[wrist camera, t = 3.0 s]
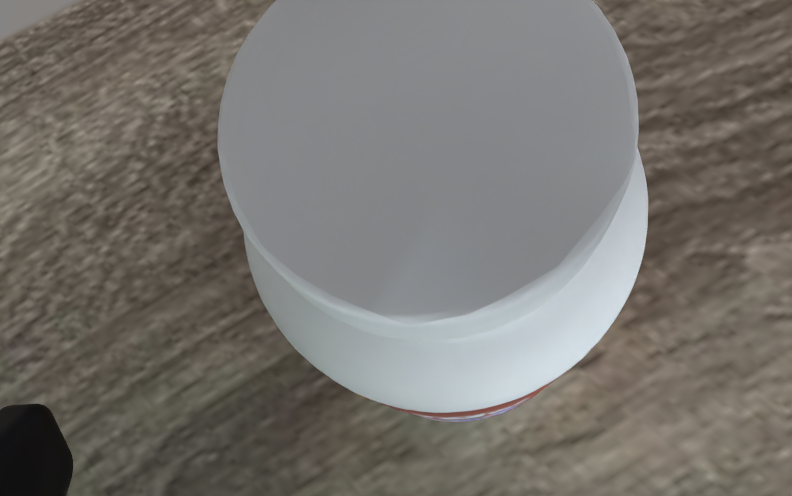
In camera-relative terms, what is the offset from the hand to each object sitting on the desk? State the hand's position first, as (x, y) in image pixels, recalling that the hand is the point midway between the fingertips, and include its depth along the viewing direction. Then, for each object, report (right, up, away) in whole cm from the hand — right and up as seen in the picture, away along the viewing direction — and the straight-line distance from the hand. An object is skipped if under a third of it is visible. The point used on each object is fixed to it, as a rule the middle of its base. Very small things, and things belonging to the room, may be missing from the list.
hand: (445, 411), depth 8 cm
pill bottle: (+1, 0, +11) cm, 11 cm away
